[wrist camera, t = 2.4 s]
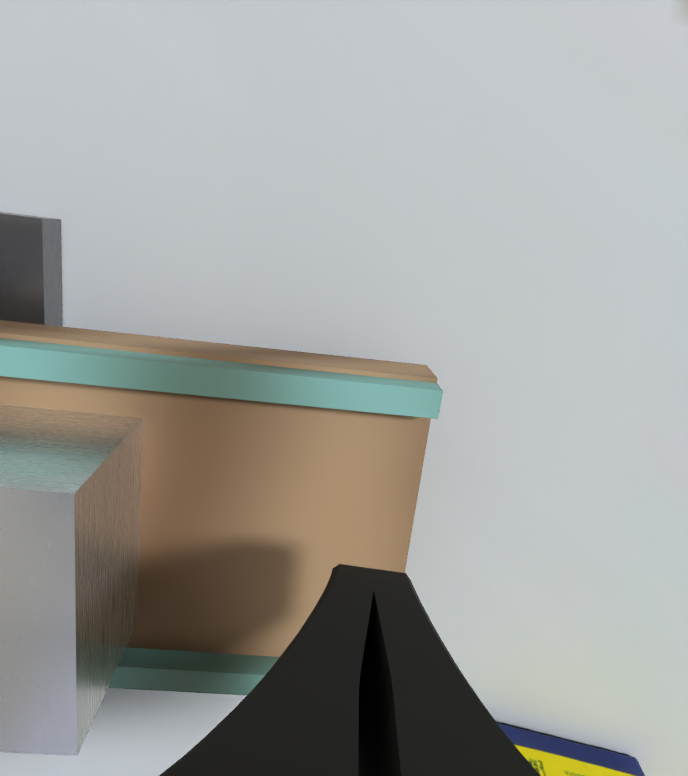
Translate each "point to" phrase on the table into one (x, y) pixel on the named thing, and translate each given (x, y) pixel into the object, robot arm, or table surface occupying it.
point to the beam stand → (30, 269)
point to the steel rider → (65, 569)
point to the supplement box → (569, 756)
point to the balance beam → (239, 483)
